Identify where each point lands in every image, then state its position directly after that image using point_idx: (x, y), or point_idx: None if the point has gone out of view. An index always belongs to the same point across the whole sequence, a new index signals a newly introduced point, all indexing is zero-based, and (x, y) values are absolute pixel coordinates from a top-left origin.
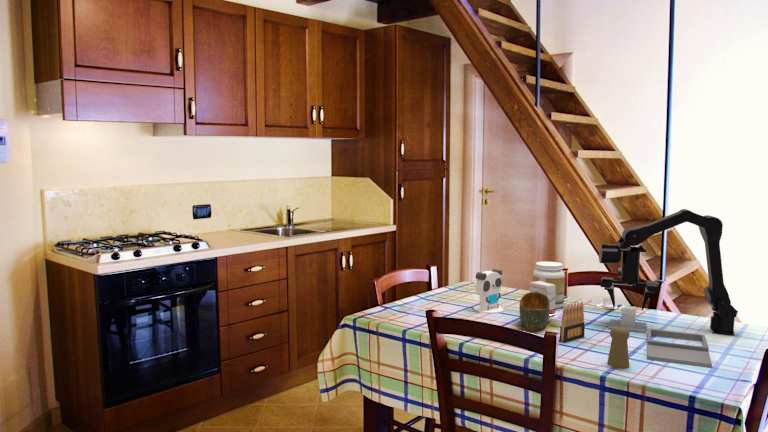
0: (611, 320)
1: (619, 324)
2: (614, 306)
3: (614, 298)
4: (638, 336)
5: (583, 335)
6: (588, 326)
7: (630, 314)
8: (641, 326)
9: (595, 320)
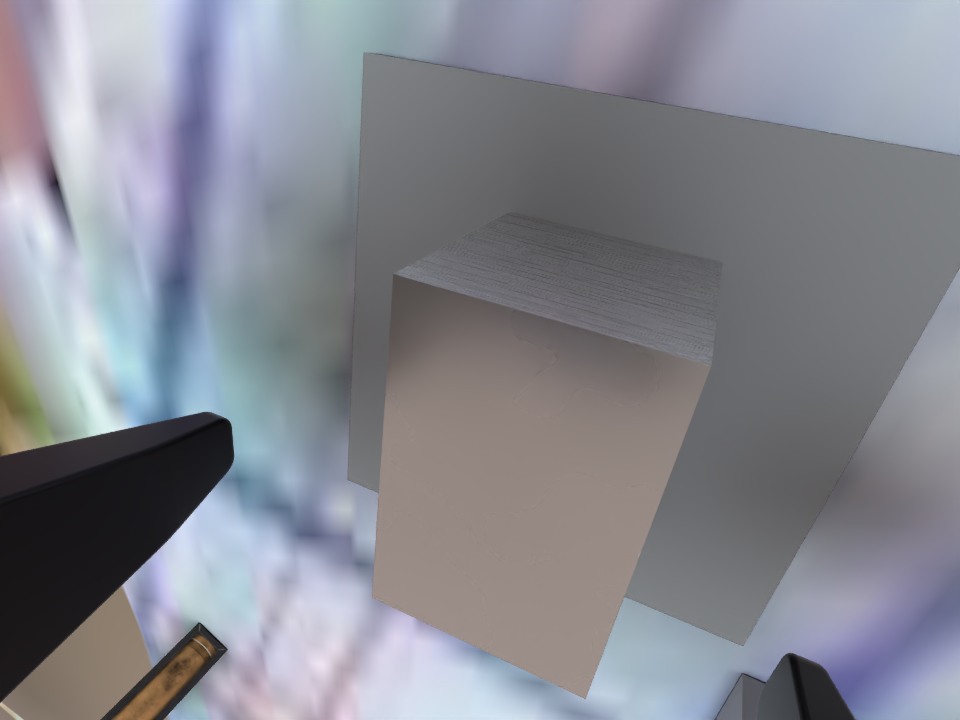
0: (376, 157)
1: None
2: (216, 479)
3: (42, 575)
4: (612, 702)
5: (211, 666)
6: (199, 399)
7: (509, 648)
8: (771, 437)
9: (213, 129)
